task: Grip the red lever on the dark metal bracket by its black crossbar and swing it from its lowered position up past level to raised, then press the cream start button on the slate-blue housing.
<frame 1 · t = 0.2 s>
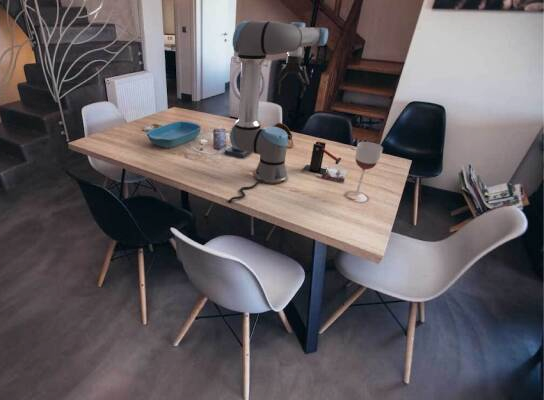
hand: (289, 96, 176), 28 cm above the table, tool pointing down, fingers open, 13 cm apart
button box: (238, 153, 174), on the table
casserole dish: (175, 140, 191), on the table
lever: (328, 153, 146), point 11 cm above the table, hinge at -25.0°
bracket: (314, 171, 154), on the table
wineglass: (356, 197, 133), on the table
button: (238, 145, 171), point 4 cm above the table, slide at 0.1 cm
sword hilt: (282, 144, 188), on the table
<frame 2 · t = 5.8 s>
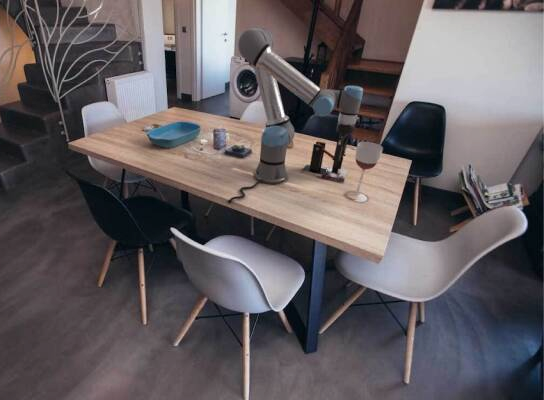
hand: (336, 170, 148), 3 cm above the table, tool pointing down, fingers closed on lever, 5 cm apart
lever: (328, 153, 146), point 11 cm above the table, hinge at -25.0°, touching gripper
everything else where it was.
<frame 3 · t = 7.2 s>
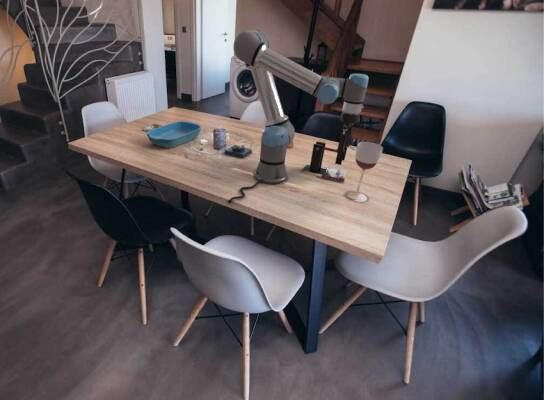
hand: (339, 161, 145), 8 cm above the table, tool pointing down, fingers closed on lever, 5 cm apart
lever: (329, 149, 145), point 13 cm above the table, hinge at -0.7°, touching gripper
everything else where it was.
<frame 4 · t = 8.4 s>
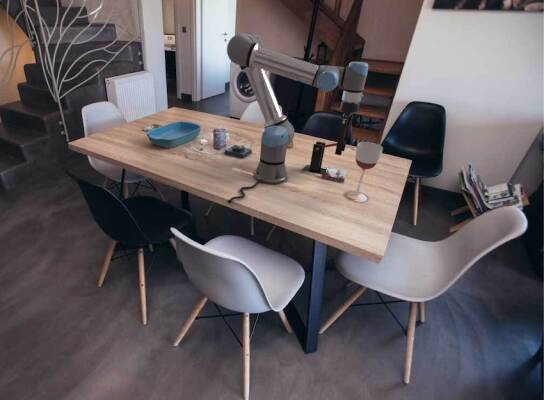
hand: (339, 152, 143), 13 cm above the table, tool pointing down, fingers closed on lever, 5 cm apart
lever: (329, 145, 144), point 15 cm above the table, hinge at 21.9°, touching gripper
everything else where it was.
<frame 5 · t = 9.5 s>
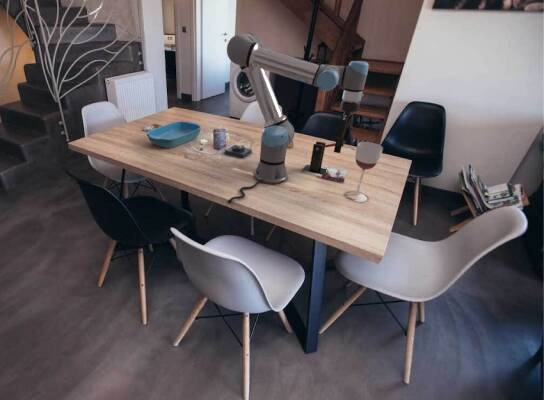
hand: (340, 148, 142), 15 cm above the table, tool pointing down, fingers open, 13 cm apart
lever: (329, 145, 144), point 15 cm above the table, hinge at 21.7°
everything else where it was.
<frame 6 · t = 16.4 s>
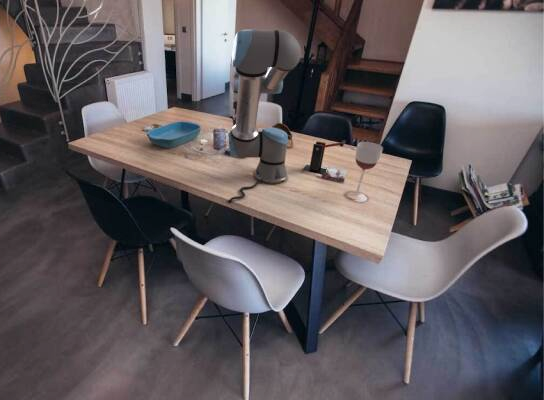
hand: (238, 144, 171), 5 cm above the table, tool pointing down, fingers closed
button: (238, 146, 171), point 4 cm above the table, slide at -0.2 cm, touching gripper
everything else where it was.
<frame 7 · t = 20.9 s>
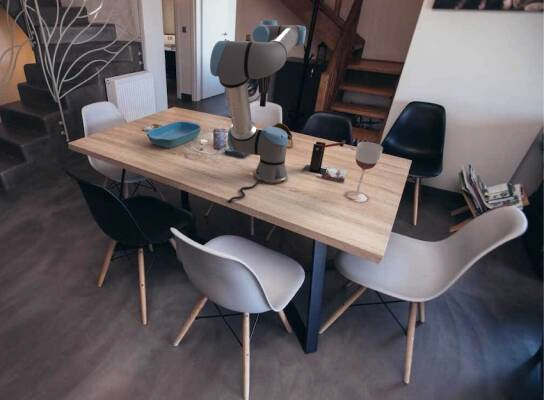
hand: (262, 106, 160), 26 cm above the table, tool pointing down, fingers closed
button: (238, 145, 171), point 4 cm above the table, slide at 0.1 cm
everything else where it was.
at the end: lever at +22° (first picture: -25°); button pushed in 1.0 cm at the most during the clip, back to where it started at the end; button slide at 0.1 cm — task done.
